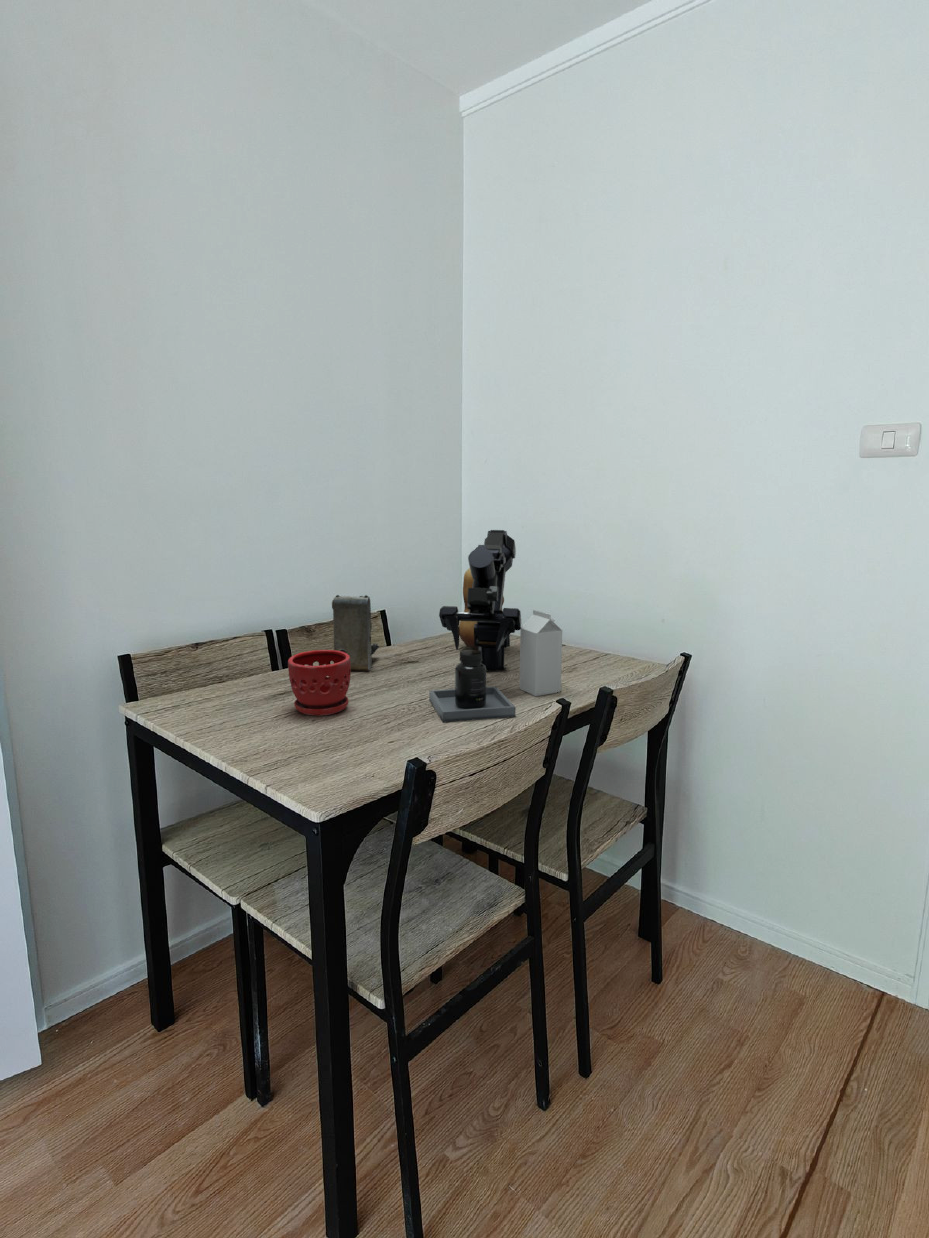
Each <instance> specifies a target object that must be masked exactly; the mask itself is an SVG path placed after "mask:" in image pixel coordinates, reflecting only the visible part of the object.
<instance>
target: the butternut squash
mask: <svg viewBox="0 0 929 1238" xmlns="http://www.w3.org/2000/svg"><path fill="white" fill-rule="evenodd" d="M463 575H464V576H463V582H462V583H463V584H462V585H463V586H462V597H463V602H464V603H463V604H464V610H463V612H467V613H469V609H468V608H467V605H468V602H467V596H468V588H472V586H473V578H472V576H471V571H470V567H468V569H467V570H465V572H464V574H463ZM504 603H505V596H503V600H502V606H503V605H504ZM501 610H502V612H503V607H502V608H501ZM475 624H477V621H460V622H459V629H460V633H459V639H460V640H461V641H462V643H464V645H465V646H467V647H471V648H472V649H473V650H478V651H479V647H475V645H474V625H475Z"/></svg>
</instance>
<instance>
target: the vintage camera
mask: <svg viewBox="0 0 929 1238" xmlns="http://www.w3.org/2000/svg"><path fill="white" fill-rule="evenodd" d="M371 607H372V606H371V598H370V596H368V595H367V594H365V595H364V596H363V595H359V596H350V595H349V596H348V595H339V594H337V595H336V596H334V597H333V599H332V602H331V609H332V611H333V612H332V616H333V617H332V618H333V619H332V620H333V622H332V623H333V650H336V651H341V652H344V653H347V654H348V655H349V656H350V665H351V672H352V671H353V672H356V671H359V672H361V671H363V672H368V671H371V670H372V656H373V654H375V653H376V651H377V650H378V649H379V648H380V645H378V643H375V642H374V643H373V644H372V635H371V634H372V611H371V610H372V609H371Z"/></svg>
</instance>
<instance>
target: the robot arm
mask: <svg viewBox="0 0 929 1238" xmlns="http://www.w3.org/2000/svg"><path fill="white" fill-rule="evenodd" d="M483 543H484V544H478V545H477V547H476V548H475V549H473V550H472V551H471V552H470V553H469V554H468V556H467V561H468V565H469V568H470V571H471V576H472V578H473V586H472V588H468V596H467V602H468V605H467V608H468V609H469V613H467V612H464V611H462V612H461V611H459V608H458V606H452V605H449V606H448V605H447V606H446V605H443V606H441V608H439V613H438V617H439V620H440V623H441V627H443V628H445V629H446V630H447V631H451V633H452V636H453V641H454V646H455V650H456V651H458V650H459V646H460V635H459V633H460V629H459V624H460V621H477V624H475V625H474V645H475V647H479V650H478V651H481V652H482V661H481V663H482V664H484V665H485V667H486V672H497V671H498V672H500V671H503V672H504V671H506V670H507V668H506V667H505V649H507V648H509V647H511V634H515V632H516V631H521V627H522V614H521V610H520V609H519V608H511V607H503V605H502V600H503V597H504V589H505V581H506V573H507V572H508V570H509V571H510V569H511V568H512V567H513V561H514V559H516V555H517V553H516V551H517V549H516V543H515V539H513V538H512V537H511V536H509V535H508V532H507V530H503V529H490V530H488V531H487V537H485V538H484V542H483ZM501 608H502V610H501ZM502 611H503V612H502Z"/></svg>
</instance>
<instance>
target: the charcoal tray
mask: <svg viewBox="0 0 929 1238" xmlns="http://www.w3.org/2000/svg"><path fill="white" fill-rule="evenodd" d="M428 693H429V698H428V699H429V701H430V703H431V705H432V706H433V708H434V710H435V712H436V713H437V715H438V716H439V719H440V720H441V722H442V723H453V722H454V723H455V722H464V721H465V722H467V721H478V720H479V721H480V720H492V719H493V720H494V719H505V718H506V719H507V718H515V717H516V708H517V707H516V706H515V705H514V703H513V702H511V701H510V700H509V698H508V697H507V696H506V695H505V694H504V693H503V692H502V691H501V690H500V688H498V687H497V686H496V685H494V686H486V704H485V706H484V707H482V708H477V709H462V708H459V707H458V706H457V705H456V704H455V688H448V689H446V688H445V689H433V690H429V692H428Z"/></svg>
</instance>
